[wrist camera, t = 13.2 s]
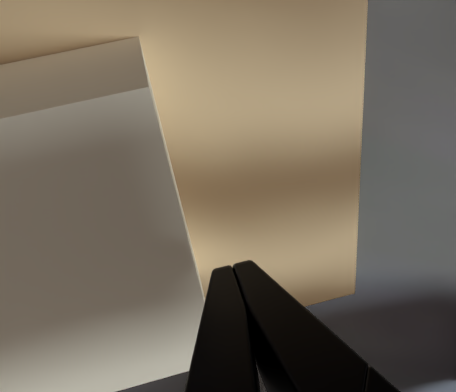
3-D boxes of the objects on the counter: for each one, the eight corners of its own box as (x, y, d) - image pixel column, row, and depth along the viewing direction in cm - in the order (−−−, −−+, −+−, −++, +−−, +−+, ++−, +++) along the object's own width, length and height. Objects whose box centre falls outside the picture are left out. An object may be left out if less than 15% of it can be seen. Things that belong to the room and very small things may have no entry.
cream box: (219, 362, 12) (-81, 447, 11) (199, 273, 15) (-42, 336, 14) (148, 86, 7) (-367, 197, 7) (138, 35, 10) (-222, 109, 10)
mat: (348, 282, 18) (354, 293, 17) (-59, 389, 16) (-65, 404, 16) (361, -159, 10) (374, -163, 9) (-446, -25, 8) (-482, -21, 8)
